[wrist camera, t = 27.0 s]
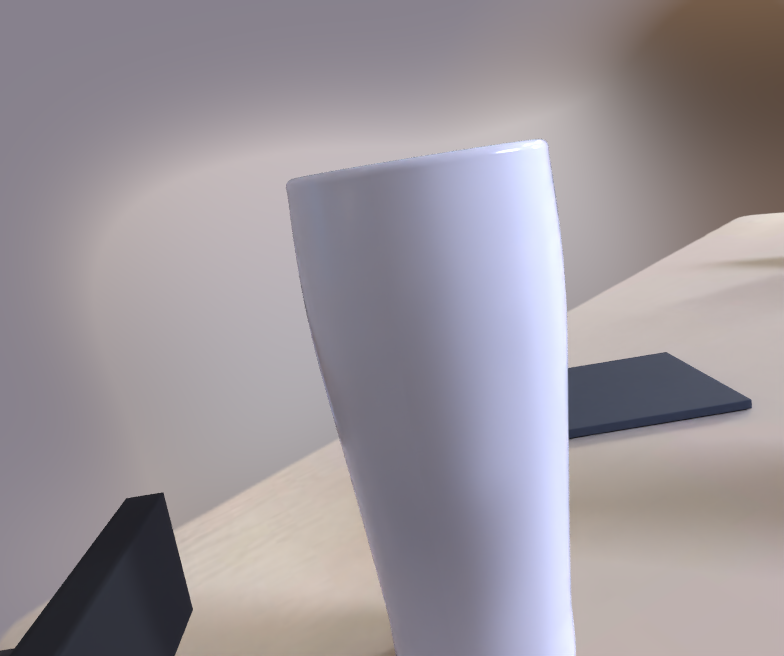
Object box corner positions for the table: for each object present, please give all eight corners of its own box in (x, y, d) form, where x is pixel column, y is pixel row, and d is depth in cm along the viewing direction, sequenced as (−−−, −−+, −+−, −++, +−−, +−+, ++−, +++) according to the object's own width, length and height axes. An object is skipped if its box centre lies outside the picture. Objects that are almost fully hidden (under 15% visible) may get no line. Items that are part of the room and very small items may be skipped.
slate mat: (565, 439, 35) (564, 430, 35) (520, 382, 45) (519, 375, 45) (752, 408, 35) (751, 399, 35) (666, 358, 45) (666, 351, 45)
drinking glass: (448, 809, 16) (340, 167, 12) (343, 648, 22) (251, 186, 19) (657, 682, 18) (613, 126, 15) (511, 570, 25) (458, 155, 21)
